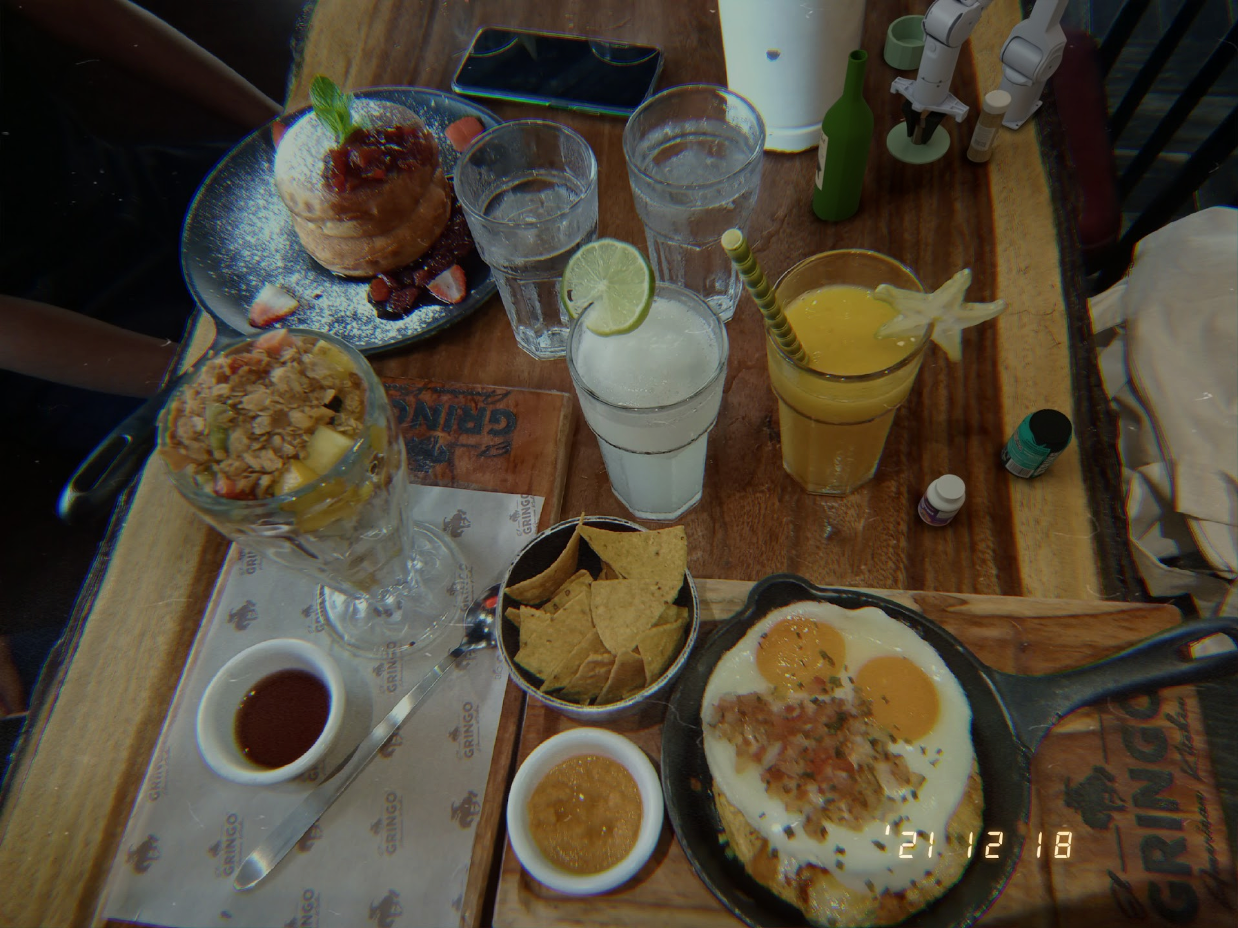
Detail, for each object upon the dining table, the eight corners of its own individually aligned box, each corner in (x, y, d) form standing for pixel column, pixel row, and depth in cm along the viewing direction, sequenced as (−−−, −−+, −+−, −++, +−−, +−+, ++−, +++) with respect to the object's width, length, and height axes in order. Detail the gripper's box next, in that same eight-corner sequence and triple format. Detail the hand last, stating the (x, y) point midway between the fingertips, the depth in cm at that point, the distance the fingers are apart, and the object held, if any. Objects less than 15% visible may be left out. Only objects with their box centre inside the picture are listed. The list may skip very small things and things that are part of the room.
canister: (902, 33, 165) (907, 9, 160) (943, 49, 161) (949, 25, 156) (874, 59, 163) (878, 35, 158) (914, 76, 159) (919, 52, 154)
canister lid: (909, 116, 144) (914, 93, 139) (961, 140, 139) (968, 117, 134) (873, 150, 141) (877, 128, 136) (925, 175, 136) (931, 153, 132)
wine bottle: (808, 194, 149) (824, 43, 120) (852, 186, 148) (879, 32, 119) (817, 226, 145) (836, 78, 116) (863, 218, 144) (894, 67, 115)
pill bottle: (913, 498, 117) (927, 472, 109) (947, 493, 117) (964, 467, 108) (922, 529, 115) (937, 505, 106) (957, 524, 115) (975, 500, 106)
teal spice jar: (1046, 445, 118) (1076, 407, 107) (1046, 484, 115) (1078, 449, 105) (999, 439, 120) (1024, 402, 109) (998, 477, 117) (1024, 443, 106)
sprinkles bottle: (994, 156, 146) (1017, 97, 134) (977, 168, 145) (998, 109, 133) (977, 145, 148) (998, 85, 136) (960, 156, 147) (979, 97, 135)
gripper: (886, 70, 128) (873, 134, 140) (959, 101, 123) (939, 166, 135) (910, 47, 130) (895, 113, 142) (984, 77, 124) (962, 143, 136)
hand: (918, 137), depth 138 cm, fingers closed on canister lid, 2 cm apart
